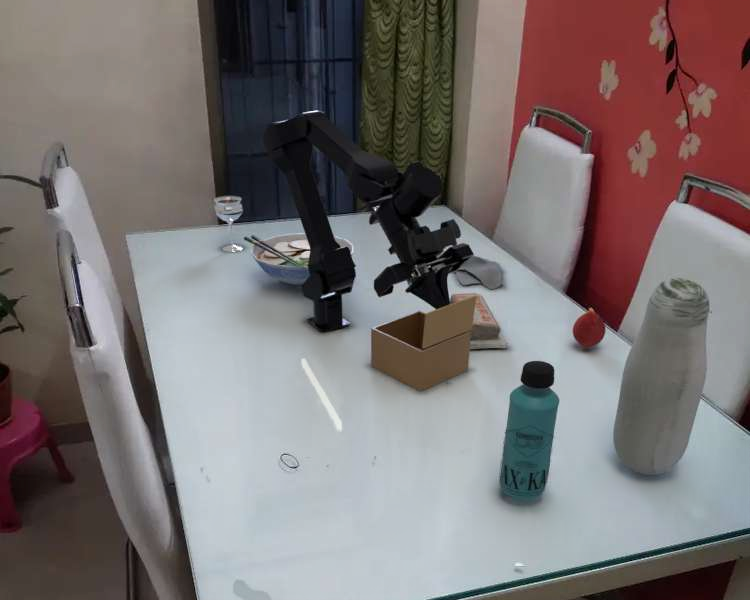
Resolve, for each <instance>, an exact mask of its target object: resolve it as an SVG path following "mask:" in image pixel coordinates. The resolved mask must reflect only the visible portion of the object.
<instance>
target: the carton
mask: <svg viewBox="0 0 750 600" xmlns="http://www.w3.org/2000/svg"><path fill="white" fill-rule="evenodd" d="M426 313H427V312H423V311H421V310H417V311H415V312H412V313H409V314H406V315H404V316H400V317H398V318H395V319H392V320H390V321H388V322H385V323H381V324H379V325H375V326H374V327H371V328H370V334H371V335H370V366H371V367H372V368H374V369H376V370H378V371H380V372H382V373H384V374H385V375H388V376H389V377H391V378H394V379H395V380H398V381H400V382H401V383H403V384H405V385H407V386H409V387H411V388H413V389H415V390H417V391H419V392H423V391H425V390H427V389H430V388H432V387H434V386H437V385H440V384H441V383H444V382H445V381H448V380H450V379H452V378H454V377H457V376H459V375H462V374H464V373H466V372H468V371H469V364H470V351H471V349H470V338H471V332H469V331H466V332H464V333H461V334H459V335H456V336H454V337H451V338H449V339H446V340H444V341H442V342H439V343H437V344H434V345H432V346H429V347H427V348H424V349H423V348H422V344H423V334H424V324H425V314H426Z"/></svg>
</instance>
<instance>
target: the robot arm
mask: <svg viewBox="0 0 750 600" xmlns="http://www.w3.org/2000/svg"><path fill="white" fill-rule="evenodd" d="M262 142H263V145H264V148H265V149H266V151H267V154H268V156H269V158H270V160H271V162H272V163H273V164H274V165H275V166H276V167H277V168H278V169H279V170H280V171H281V172H282V173H283V174H284V175H285V178H286V181H287V183H288V187H289V190H290V192H291V195H292V198H293V201H294V205H295V207H296V210H297V213H298V216H299V219H300V222H301V225H302V228H303V231H304V233H305V234H306V237H307V240H308V243H309V246H310V256H309V261H308V270H309V274H310V276H309V277H308V278H307V280H306V281H305V282H304V283H303V284H302V285H301V286H300V288H301V293H302V296H303V297H304V298H306V299H308V300H310V301H312V305H313V317H308V318H307V322H308V324H310V325H311V326H312V327H314V328H315V329H316V330H318V331H319V332H320V333H325V332H329V331H332V330H338V329H341V328H346V327H349V326H350V325H351V323H350V322H349V321H347V319H345V318H344V315H343V295H345V294H350V293H352V290H353V287H354V283H355V279H356V277H357V271H356V267H357V265H356V264H355V262H354V260H353V257H352V256H353V255H352V256H351V252H350V249H349V248H348V247H347V246H346V247H343V248H342V247H341V246H340V245H339V244H338V243H337V242H336V241H335V238H334V236H335V235H334V233H333V230H332V227H331V224H330V220H329V217H328V214H327V212H326V209H325V205H324V203H323V199H322V197H321V193H320V191H319V187H318V185H317V182H316V178H315V176H314V173H313V169H312V166H311V163H312V158H313V152H314V147H315V148H316V149H317V150H318V151H320V153H322V154H323V155H324V156H325V157H326V158H327V159H328V161H330V162H331V163H333V164H334V165H335V166H336V167H337V168H338V169H339V170H340V171H341V172H342V173H343V174H344V175H345V177H346V181H347V182H346V183H347V186H348V188H349V189H350V190H351V192H352V193H353V194H354V195H355V197H356V198H357V199H358V200H359V201H360V202H361V203H363V204H369V203H373V202H377V201H382V200H383V201H382V202H381V203H380V204H379V205H377V206H373V207H371V209H370V211H371V212H370V216H369V219H368V222H369V223H368V225H371V226H372V225H376V224H379V225H380V227H381V230H382V231H383V233H384V235H385V236H386V239H387V240H388V242H389V244H390V245H391V246H390V247H389V248H388V249H387V251H388V253H389V255H396V256H397V259H398V260H399V262H398V263H395V264H392V265H388V266H386V267H385V268H384V269H383V270H382V271H381V272H380V273H379V274H378V276H377V277H376V278H375V279H374V280H373V289H374V292H375V293H376V295H377V297H378V298H382V297H385V296H389V295H391V294H392V293H393V292H394V286H395V285H398V284H400V283H404V282H407V286H408V287H407V288H405V290H404V292H405V293H406V294H412V295H413V296H414V297H417V298H418V299H420V300H422V301H423V302H425V303H426V304H427V305H429V306H430V307H432V308H434V310H436V309H439V308H442V307H444V306H447V305H450V294H449V287H448V286H449V284H448V277H449V274H450V275H451V274H452V273H455V271H457V270H458V269H459V268H460V267H461V266H463V265H464V264H465V263H466V262H467V261H468V260H469V259H470V258H472V257H473V256H475V254H474V252H473V250H472V248H471V246H470V244H468V243H464V242H461V243H459V244H458V241H457V240H458V239H460V238H461V236H462V233H461V229H460V226H459V225H458V223H457V221H456V220H455V219H454V218H452V219H449V220H446V221H443V222H440V225H439V227H440V228H438V229H434V230H431V229H430V227H429V226H427V225H422V226H421V224H420V223H419V221H418V219H417V218H419V217H421V216H422V215H423V214H424V213H425V212H426V211H427V210H428V209H429V208H430V207H431V206H432V205H433V204H434V203H435V202H436V200H438V199H439V197H440V196H441V195H442V194H443V191H444V184H443V181H442V179H441V177H440V175H438V174H437V173H436V172H435V171H434V170H432V169H431V168H429V167H427V166H423V163H422V162H421V161H420V160H416V161H411V162H409V164H408V165H407V166H406V167H405V170H404V171H401V170H399V169H398V168H397V166H396V165H395V164H394V163H392V162H391V161H389V160H387V159H386V158H384V157H382V156H380V155H377V154H373V153H369V152H367V151H365V150H363V149H362V147H360V146H359V145H358V144H357V143H356V142H355V141H353V140H352V139H351V138H350V137H349V136H348V135H347V134H346V133H345V132H343V131H342V130H341V129H340V128H338V126H337V125H336V124H334V123H333V122H332V121H331V120H330V119H329V117H328V115H327V114H326V113H325V112H324V111H321V110H313V111H306V112H301V113H300V114H298V115H295V116H294V117H292V118H289V119H285V120H279V121H273V122H270V123H269V122H268V124H267V125H266V126H265V130H264V131H263V134H262ZM447 247H448V248H447ZM446 248H447V249H446ZM445 249H446V250H445ZM444 250H445V252H444V253H443V254H442V255H441V256H440V257H439V258H437V257H436V256H437V255H439V254H441V253H442V252H443V251H444Z"/></svg>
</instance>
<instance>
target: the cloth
mask: <svg viewBox="0 0 750 600" xmlns="http://www.w3.org/2000/svg"><path fill="white" fill-rule="evenodd" d="M445 251H446V250H445ZM445 251H443V252H442V253H441V254H439V255H437V256H436V257H437V258H439V257H440V256H441V255H442V254H443V253H444V252H445ZM501 267H502V266H500V264H499V263H498V262H497V261H496V260H495V261H493V260H492V261H491V260H489V259H487V258H484V257H481V256H477V255H474V256H473V257H472V258H470V259H469V260H468V261H467V262H466V263H465V264H464V265H463V266H461V267H460V268H459V269H458V270H457V271H455V272H454V273H455V276H456V279H457V280H458V282H459V283H460V284H461V286H470V285H474V284H478V285H480V284H482V286H483V287H486V289H488V290H494V289H499V288H500V287H501V286H503V272H502V268H501Z"/></svg>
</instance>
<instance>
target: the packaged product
mask: <svg viewBox="0 0 750 600" xmlns="http://www.w3.org/2000/svg"><path fill="white" fill-rule="evenodd" d="M474 295H476V303H475V310H474V318H473V325H472V329H471V330H469V332H471V338H470V350H479V349H481V350H482V349H496V348H497V349H507V348H508V345H509V343H508V341H507V339H506V337H505V336H504V334H503V333H502V330H501V327H500V325H499V324H498V321H497V320H496V318H495V316H494V314H493V313H492V311H491V309H490V307H489V305H488V303H487V302H486V299H485V298H484V296H483V295H481V294H479V293H476V292H467V293H453V294H451V295H450V297H449V299H450V304H452V303H455V302H458V301H461V300H463V299H466V298H469V297H471V296H474Z"/></svg>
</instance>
